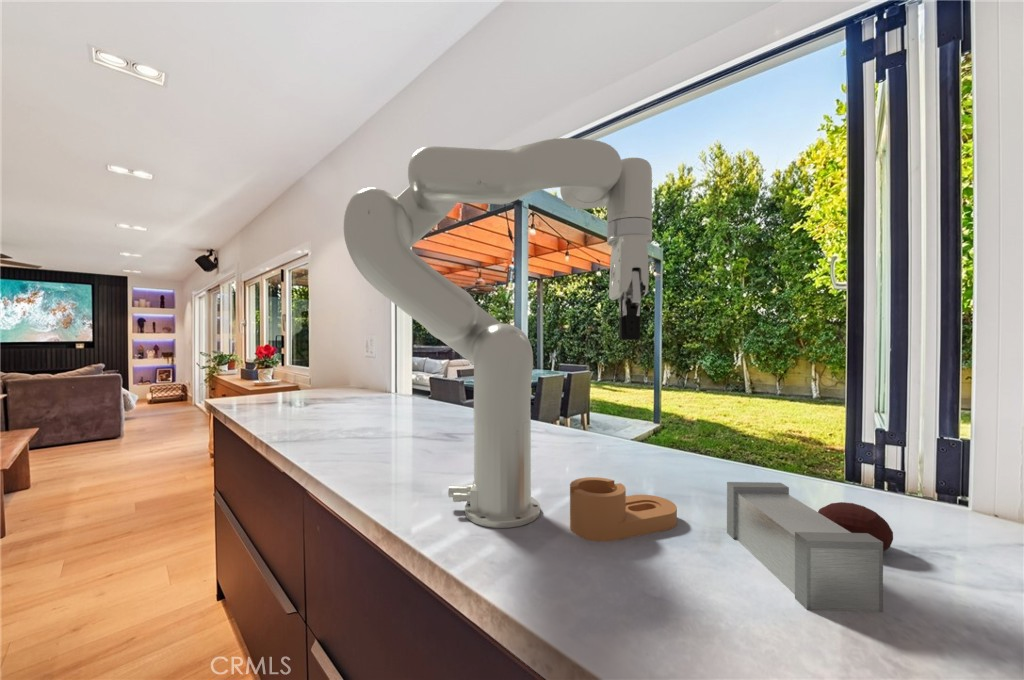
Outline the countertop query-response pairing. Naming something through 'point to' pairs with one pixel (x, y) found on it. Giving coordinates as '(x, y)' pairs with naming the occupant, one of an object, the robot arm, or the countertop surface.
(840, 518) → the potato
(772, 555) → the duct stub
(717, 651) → the countertop surface
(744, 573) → the countertop surface
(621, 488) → the bracket
